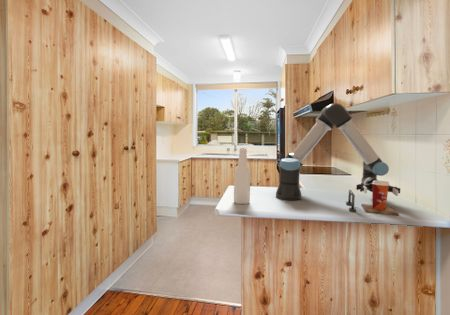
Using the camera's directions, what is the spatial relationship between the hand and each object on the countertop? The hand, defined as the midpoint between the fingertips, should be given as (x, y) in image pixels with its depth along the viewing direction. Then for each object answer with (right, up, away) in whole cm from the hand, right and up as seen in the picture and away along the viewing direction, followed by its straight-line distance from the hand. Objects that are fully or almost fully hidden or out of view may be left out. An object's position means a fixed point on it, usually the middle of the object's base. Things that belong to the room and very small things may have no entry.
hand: (381, 191), depth 126 cm
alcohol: (-69, -8, +13) cm, 71 cm away
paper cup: (0, -9, +3) cm, 9 cm away
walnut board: (+1, -10, +3) cm, 10 cm away
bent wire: (-12, -9, +7) cm, 17 cm away
